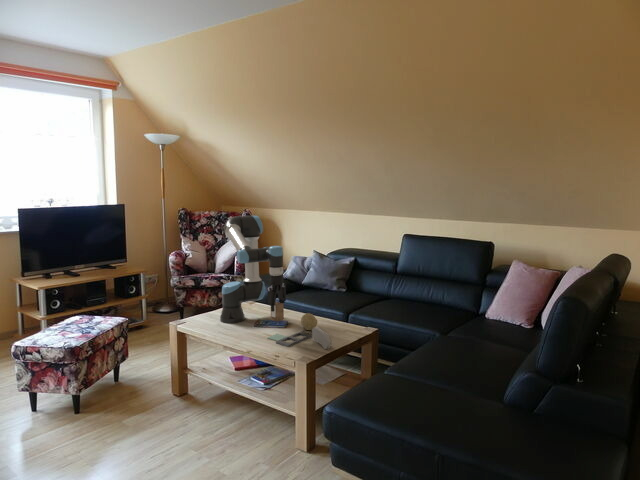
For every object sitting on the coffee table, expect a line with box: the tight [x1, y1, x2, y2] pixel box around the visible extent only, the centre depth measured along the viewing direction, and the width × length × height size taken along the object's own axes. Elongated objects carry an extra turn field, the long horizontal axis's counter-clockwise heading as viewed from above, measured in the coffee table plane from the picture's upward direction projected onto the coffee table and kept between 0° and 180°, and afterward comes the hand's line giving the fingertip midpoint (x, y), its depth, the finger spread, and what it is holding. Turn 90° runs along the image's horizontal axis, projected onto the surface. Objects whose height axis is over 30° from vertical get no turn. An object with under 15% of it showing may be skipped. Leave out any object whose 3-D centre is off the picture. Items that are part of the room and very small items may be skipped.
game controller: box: [311, 326, 332, 350], centre depth 258 cm, size 20×2×8 cm, turn 25°
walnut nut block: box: [270, 301, 285, 322], centre depth 267 cm, size 5×5×9 cm
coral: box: [300, 312, 318, 331], centre depth 284 cm, size 10×10×10 cm
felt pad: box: [266, 333, 289, 342], centre depth 269 cm, size 8×8×1 cm
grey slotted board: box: [275, 330, 313, 348], centre depth 267 cm, size 9×22×1 cm, turn 143°
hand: (277, 315), depth 268 cm, fingers closed on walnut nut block, 5 cm apart
